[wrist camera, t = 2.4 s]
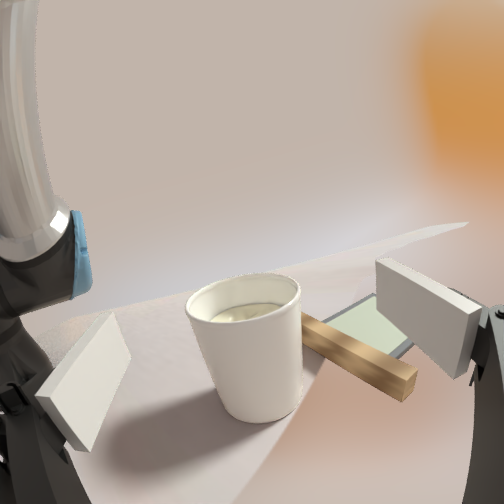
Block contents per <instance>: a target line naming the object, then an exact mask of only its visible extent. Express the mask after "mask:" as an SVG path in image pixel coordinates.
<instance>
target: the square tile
mask: <svg viewBox="0 0 504 504" xmlns="http://www.w3.org/2000/svg"><path fill="white" fill-rule="evenodd" d="M321 322H323V323H325V324H327V325H328V326H330V327H332V328H334V329H336V330H338V331H340V332H342V333H344V334H346V335H348V336H350V337H353V338H355V339H357V340H359V341H361V342H363V343H365V344H367V345H369V346H371V347H373V348H375V349H377V350H379V351H381V352H383V353H385V354H387V355H390V356H392V357H394V358H396V359H399V358H400V357H401V356H403V355H404V354H405V353H406V352H407V351H408V350H409V349H410V348H411V347H412V346H413V345H415V344H414V343H413V342H412V341H411V340H410V339H409V338H408V337H407V336H406V335H404V334H403V333H402V332H401V331H400V330H399V329H398V328H397V327H396V326H394V325H393V324H392V323H391V322H390V321H389V320H388V319H387V318H385V317H384V316H383V315H382V314H381V313H380V312H379V311H377V310H376V294H374V293H372V294H370V295H368V296H367V297H365V298H363V299H361V300H360V301H358V302H356V303H354V304H353V305H351V306H349V307H347V308H345V309H344V310H342V311H340V312H338V313H336V314H335V315H333V316H331V317H329V318H327V319H325V320H323V321H321Z"/></svg>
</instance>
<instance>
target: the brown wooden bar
mask: <svg viewBox="0 0 504 504" xmlns="http://www.w3.org/2000/svg"><path fill="white" fill-rule="evenodd" d="M301 326H302V343H303V344H305V345H306V346H308V347H310V348H311V349H313V350H314V351H316V352H317V353H319V354H321V355H322V356H324V357H325V358H327V359H329V360H330V361H332V362H334V363H335V364H337V365H339V366H340V367H342V368H343V369H345V370H347V371H348V372H350V373H352V374H353V375H355V376H357V377H358V378H360V379H362V380H363V381H365V382H367V383H368V384H370V385H372V386H374V387H375V388H377V389H379V390H380V391H382V392H384V393H386V394H387V395H389V396H391V397H393V398H395V399H396V400H398V401H400V402H403V401H404V400H405V399H406V398H407V397H408V396H409V395H410V394H411V393H412V392H413V389H414V385H415V380H416V377H417V372H418V369H417V368H415V367H413V366H411V365H408V364H406V363H404V362H402V361H400V360H398V359H396V358H394V357H392V356H390V355H387V354H385V353H383V352H381V351H379V350H377V349H375V348H373V347H371V346H369V345H367V344H365V343H363V342H361V341H359V340H357V339H355V338H353V337H350V336H348V335H346V334H344V333H342V332H340V331H338V330H336V329H334V328H332V327H330V326H328V325H327V324H325V323H323V322H321V321H319V320H317V319H315V318H313V317H311V316H309V315H307V314H305V313H303V312H301Z"/></svg>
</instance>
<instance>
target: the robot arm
mask: <svg viewBox="0 0 504 504" xmlns="http://www.w3.org/2000/svg"><path fill="white" fill-rule="evenodd" d="M38 3H39V0H0V410H2V411H3V412H4V413H5V414H1V415H0V455H1V456H2V457H3V458H4V459H3V463H2V462H1V461H0V504H92V503H91V501H90V500H89V498H88V496H87V494H86V492H85V490H84V488H83V485H82V483H81V481H80V479H79V477H78V475H77V472H76V470H75V468H74V465H73V463H72V460H71V458H70V455H69V453H68V451H67V450H66V449H65V447H64V444H65V442H66V440H67V441H68V443H69V444H70V445H71V446H72V447H73V449H74V450H77V451H83V452H91V449H92V447H93V444H94V442H95V439H96V437H97V434H98V432H99V430H100V427H101V425H102V422H103V420H104V418H105V415H106V413H107V411H108V408H109V406H110V404H111V402H112V399H113V397H114V395H115V393H116V390H117V388H118V386H119V384H120V382H121V379H122V377H123V375H124V373H125V371H126V369H127V367H128V364H129V362H130V360H131V358H132V357H131V355H130V353H129V350H128V348H127V345H126V343H125V341H124V338H123V336H122V333H121V331H120V328H119V325H118V323H117V320H116V317H115V315H114V312H106V313H101V314H100V315H99V316H98V317H97V318H96V319H95V321H94V322H93V323H92V324H91V325H90V326H89V328H88V329H87V330H86V331H85V332H84V333H83V335H82V336H81V337H80V338H79V339H78V341H77V342H76V343H75V344H74V345H73V347H72V348H71V349H70V350H69V352H68V353H67V354H66V355H65V357H64V358H63V359H62V360H61V362H60V363H59V364H58V365H57V367H55V368H54V369H53V366H52V364H51V362H50V360H49V358H48V356H47V355H46V353H45V352H44V351H43V350H42V349H41V348H40V346H39V345H38V344H37V343H36V342H35V341H34V339H33V338H32V337H31V336H30V335H29V334H28V333H27V331H26V330H25V328H24V327H23V325H22V322H21V320H20V317H19V316H20V315H23V314H26V313H29V312H33V311H36V310H39V309H42V308H45V307H48V306H51V305H55V304H58V303H61V302H64V301H67V300H72V299H73V298H74V297H76V296H79V295H81V294H84V293H86V292H88V291H89V290H90V288H91V286H92V273H91V267H90V261H89V255H88V252H87V244H86V236H85V230H84V224H83V219H82V215H81V212H80V211H74V210H71V211H70V210H69V207H68V205H67V203H66V201H65V200H64V199H63V198H61V197H59V196H57V195H54V194H53V190H52V186H51V182H50V178H49V173H48V169H47V164H46V159H45V154H44V149H43V142H42V136H41V130H40V122H39V115H38V105H37V92H36V73H35V42H36V24H37V13H38ZM375 261H376V310H377V311H379V312H380V313H381V314H382V315H383V316H384V317H385V318H387V319H388V320H389V321H390V322H391V323H392V324H393V325H394V326H396V327H397V328H398V329H399V330H400V331H401V332H402V333H403V334H404V335H406V336H407V337H408V338H409V339H410V340H411V341H412V342H413V343H414V344H415V345H417V346H418V347H419V348H420V349H421V350H422V351H423V352H424V353H425V354H426V355H428V356H429V357H430V358H431V359H432V360H433V361H434V362H435V363H436V364H437V365H438V366H439V367H440V368H442V370H443V371H445V372H446V373H447V374H448V375H449V376H450V377H451V378H452V379H453V380H454V379H455V378H457V377H459V376H461V375H462V374H464V373H465V372H467V370H468V366H469V363H470V360H471V359H472V360H474V361H475V362H476V365H475V368H474V371H473V375H472V378H471V381H470V384H469V386H472V383H473V381H474V383H475V409H474V411H475V412H474V430H473V442H472V451H471V459H470V466H469V473H468V478H467V484H466V489H465V493H464V497H463V502H462V504H504V305H495V306H493V307H491V308H490V309H489V308H488V307H486V306H484V305H482V304H480V303H479V302H477V301H475V300H473V299H471V298H469V297H468V296H466V295H463V294H462V293H461V292H459V291H457V290H455V289H451V288H448V287H445V286H443V285H441V284H439V283H438V282H436V281H434V280H432V279H430V278H428V277H426V276H424V275H422V274H420V273H418V272H417V271H414V270H413V269H411V268H409V267H407V266H405V265H403V264H401V263H399V262H397V261H395V260H393V259H391V258H389V257H387V258H383V259H379V260H375Z"/></svg>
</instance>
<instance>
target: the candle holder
mask: <svg viewBox="0 0 504 504" xmlns="http://www.w3.org/2000/svg"><path fill="white" fill-rule="evenodd" d="M300 296H301V288H300V285H299V284H298V282H297V281H296V280H294V279H293V278H291V277H288V276H285V275H281V274H275V273H253V274H244V275H238V276H234V277H229V278H226V279H222V280H219V281H216V282H214V283H211V284H209V285H207V286H205V287H203V288H201V289H199V290H198V291H196V292H195V293H194V294H193V295H191V296H190V298H189V299H188V300H187V302H186V304H185V312H186V315H187V317H188V318H189V321H190V323H191V326H192V329H193V332H194V334H195V337H196V340H197V342H198V345H199V347H200V350H201V353H202V355H203V358H204V360H205V363H206V365H207V368H208V370H209V373H210V375H211V378H212V380H213V382H214V385H215V387H216V389H217V392H218V394H219V396H220V398H221V401H222V403H223V405H224V407H225V408H226V410H227V411H228V412H229V414H231V415H232V416H233V417H235V418H236V419H238V420H241V421H244V422H247V423H268V422H272V421H276V420H278V419H281V418H283V417H285V416H286V415H288V414H289V413H291V412H292V411H293V410H294V409H295V408H296V407H297V405H298V404H299V402H300V400H301V397H302V391H303V360H302V326H301V302H300Z"/></svg>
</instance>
